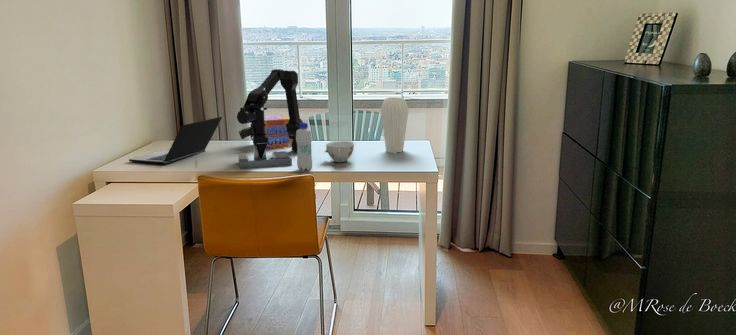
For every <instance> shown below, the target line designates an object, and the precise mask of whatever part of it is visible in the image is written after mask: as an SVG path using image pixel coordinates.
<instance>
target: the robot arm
mask: <svg viewBox="0 0 736 335" xmlns="http://www.w3.org/2000/svg"><path fill="white" fill-rule="evenodd" d="M279 82H280V85H281V87H282V88H283V89H284V92H285V98H286V104H287V106H286V107H287V112H288V118H289V122H288V124H286V128H287V132H288V136H289V139H292V142H291V147H290V148H291V151H292V153H297V142H296V131H297V130H299V129H300V123H304V122H303V120H302V119H301V117H300V110H299V102H298V97H297V87H298V84H299V75H298V72H297V71H295V70H285V69H284V70H283V69H279V68H278V69H276V68H274V69H272V70H271V71H270V74H269V75H268V76H267V77H266V78H265V79H264V81H263V82H262V83H261V84H260V85H259V86H258V87H256V88H255V89H253V90H251V91H250V92H248V94H247V96H246V100H245V103H244V105H243V107H240V108H239V111H238V112H237V115H236V119H237V122H238V123H239V124H240V125H245V124H249V123H250V126H248V127H246V128H244V129H241V130H239V131H238V134H239V136H240V138H241V140H244V139H246V138H247V137H250V140H251V141H252V143H253V146H255V148H257V150H258V154H259V158H262V157H263V154H264V151H265V149H266V146H267V144H268V138H267V137H266V136H265V135H266V133H265V119H264V116H265V111H266V110H268V108H267V106H265V105H266V103H267V101H268V99H269V94H270V92H272V90H273V89H274V88H275V87H276V85H277V84H278V83H279Z"/></svg>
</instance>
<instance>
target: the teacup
mask: <svg viewBox="0 0 736 335" xmlns="http://www.w3.org/2000/svg"><path fill="white" fill-rule="evenodd" d="M325 146H326V147H325V149H326V148H327V149H326V151H327V154H328V156H329V157H330V158H331V159H332V160H333V162H337V163H344V162H345V163H346V162H347V161H348V160H349V159H350V157H351V156H352V154H353V151H354V146H355V143H354V142H351V141H335V142H329V143H326V145H325Z"/></svg>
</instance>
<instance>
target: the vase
mask: <svg viewBox="0 0 736 335" xmlns="http://www.w3.org/2000/svg"><path fill="white" fill-rule="evenodd" d="M380 113H381V114H380V115H381V123H382V129H383V130H382V131H383V138H384V144H385V152H386V151H387V152H386V153H389V152H393V153H392V154H398V153H397V152H401V153H403V152H404V147H405V139H406V132H407V126H408V116H409V107H408V103H407V101H406V100H405V98H404V97H396V96H395V97H385V98H384V100H383V102H382V105H381V108H380ZM402 151H403V152H402ZM394 152H395V153H394Z"/></svg>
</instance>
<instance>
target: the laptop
mask: <svg viewBox="0 0 736 335" xmlns="http://www.w3.org/2000/svg"><path fill="white" fill-rule="evenodd" d="M222 119H223V117H222V116H219V117H213V118H208V119H205V120H201V121H197V122H191V123H186V124H181V126H180V128H179V130H178V132H177V134H176V136H175V139H174V140H173V142H172V143H171V146H170V147H169V148H165V149H162V150H161V149H160V150H158V151H155V152H151V153H147V154H143V155H139V156H136V157H132V158H129V159H128V161H129V162H134V163H135V162H136V163H146V164H147V163H148V164H159V165H166V164H167V165H168V164H170V163H173V162H177V161H180V160H183V159H186V158H190V157H193V156H197V155H199V154H202V153H205V152H206V148H207V147H208V144H209V143H210V141H211V139H212V137H213V135H214V133H215V132H216V130H217V129H218V126H219V124H220V122H221V120H222Z"/></svg>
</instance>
